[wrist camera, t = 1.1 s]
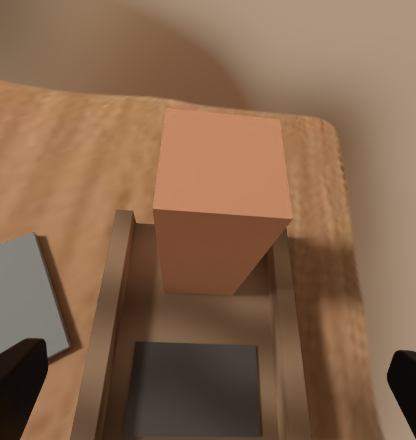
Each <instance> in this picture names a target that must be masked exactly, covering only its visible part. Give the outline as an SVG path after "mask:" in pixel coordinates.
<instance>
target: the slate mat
mask: <svg viewBox="0 0 416 440" xmlns="http://www.w3.org/2000/svg"><path fill="white" fill-rule="evenodd" d="M26 338H42V339H44V340H45V341H46V346H47V357H48V359H50V358H52V357H54V356H56V355H58V354H60V353H62V352H64V351H66V350H68V349H70V348H71V347H72V346H71V343H70V340H69V336H68V333H67V330H66V327H65V324H64V320H63V317H62V314H61V311H60V308H59V304H58V301H57V298H56V295H55V292H54V288H53V285H52V282H51V279H50V276H49V272H48V269H47V266H46V263H45V260H44V257H43V253H42V250H41V247H40V244H39V241H38V237H37V235H36V234H35V233H34V232H32V233H30V234H27V235H24V236H22V237H19V238H16V239H13V240H11V241H8V242H5V243H3V244H0V353H2V352H3V351H5V350H7V349H8V348H10V347H12V346H13V345H15V344H17V343H18V342H20V341H22V340H24V339H26Z"/></svg>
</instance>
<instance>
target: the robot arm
mask: <svg viewBox="0 0 416 440" xmlns="http://www.w3.org/2000/svg"><path fill="white" fill-rule="evenodd" d="M47 372H48V357H47V346H46V341H45V340H44V339H42V338H26V339H24V340H22V341H20V342H18V343H17V344H15V345H13V346H12V347H10V348H8V349H7V350H5V351H3V352H2V353H0V440H20V438H21V436H22V434H23V431H24V429H25V426H26V424H27V422H28V419H29V417H30V414H31V412H32V409H33V407H34V405H35V402H36V400H37V397H38V395H39V393H40V390H41V388H42V385H43V383H44V380H45V378H46V375H47ZM387 381H388V384H389V386H390V388H391V390H392V392H393V394H394V396H395V398H396V400H397V402H398V404H399V406H400V408H401V410H402V412H403V414H404V416H405V418H406V420H407V422H408V424H409V426H410V428H411V430H412V432H413V434H414V436H415V438H416V352H414V351H407V350H398V351H396V352H395V353H394V355H393V358H392V361H391V364H390V367H389V370H388V373H387Z"/></svg>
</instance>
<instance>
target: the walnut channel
mask: <svg viewBox="0 0 416 440" xmlns="http://www.w3.org/2000/svg"><path fill="white" fill-rule="evenodd" d="M70 440H312V437H311V429H310V421H309V412H308V404H307V395H306V387H305V379H304V370H303V362H302V354H301V345H300V337H299V329H298V320H297V312H296V304H295V295H294V287H293V279H292V270H291V262H290V254H289V245H288V237H287V229H286V228H285V229H284V231H283V232H282V233H281V235H280V236H279V237H278V238H277V240H276V241H275V242H274V243H273V245H272V246H271V247H270V248H269V250H268V251H267V252H266V254H265V255H264V256H263V257H262V259H261V260H260V261H259V262H258V264H257V265H256V266H255V268H254V269H253V270H252V271H251V273H250V274H249V275H248V276H247V278H246V279H245V280H244V281H243V283H242V284H241V285H240V287H239V288H238V289H237V290H236V292H235V293H234V294H233V295H232V296H231V295H211V294H190V293H169V292H164V291H163V283H162V276H161V268H160V260H159V253H158V245H157V238H156V230H155V224H140V223H136V221H135V217H134V213H133V211H127V210H116V214H115V219H114V224H113V229H112V234H111V239H110V244H109V249H108V254H107V259H106V264H105V269H104V274H103V278H102V283H101V288H100V293H99V298H98V303H97V308H96V313H95V318H94V323H93V328H92V333H91V338H90V343H89V348H88V353H87V358H86V363H85V368H84V373H83V378H82V382H81V387H80V392H79V397H78V402H77V407H76V412H75V417H74V422H73V427H72V432H71V437H70Z"/></svg>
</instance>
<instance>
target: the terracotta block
mask: <svg viewBox="0 0 416 440" xmlns="http://www.w3.org/2000/svg"><path fill="white" fill-rule="evenodd" d="M153 215H154V223H155V230H156V238H157V245H158V253H159V260H160V268H161V276H162V283H163V291H164V292H169V293H190V294H211V295H231V296H232V295H233V294H234V293H235V292H236V290H237V289H238V288H239V287H240V285H241V284H242V283H243V281H244V280H245V279H246V278H247V276H248V275H249V274H250V273H251V271H252V270H253V269H254V268H255V266H256V265H257V264H258V262H259V261H260V260H261V259H262V257H263V256H264V255H265V254H266V252H267V251H268V250H269V248H270V247H271V246H272V245H273V243H274V242H275V241H276V240H277V238H278V237H279V236H280V235H281V233H282V232H283V231H284V229H285V228H286V227H287V226H288V224H289V223H290V222H291V221H292V219H293V217H292V209H291V202H290V194H289V187H288V180H287V172H286V165H285V157H284V150H283V142H282V135H281V127H280V120H278V119H268V118H258V117H248V116H239V115H229V114H219V113H209V112H199V111H189V110H180V109H170V108H166V112H165V120H164V127H163V135H162V142H161V150H160V157H159V165H158V172H157V180H156V187H155V195H154V203H153Z"/></svg>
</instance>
